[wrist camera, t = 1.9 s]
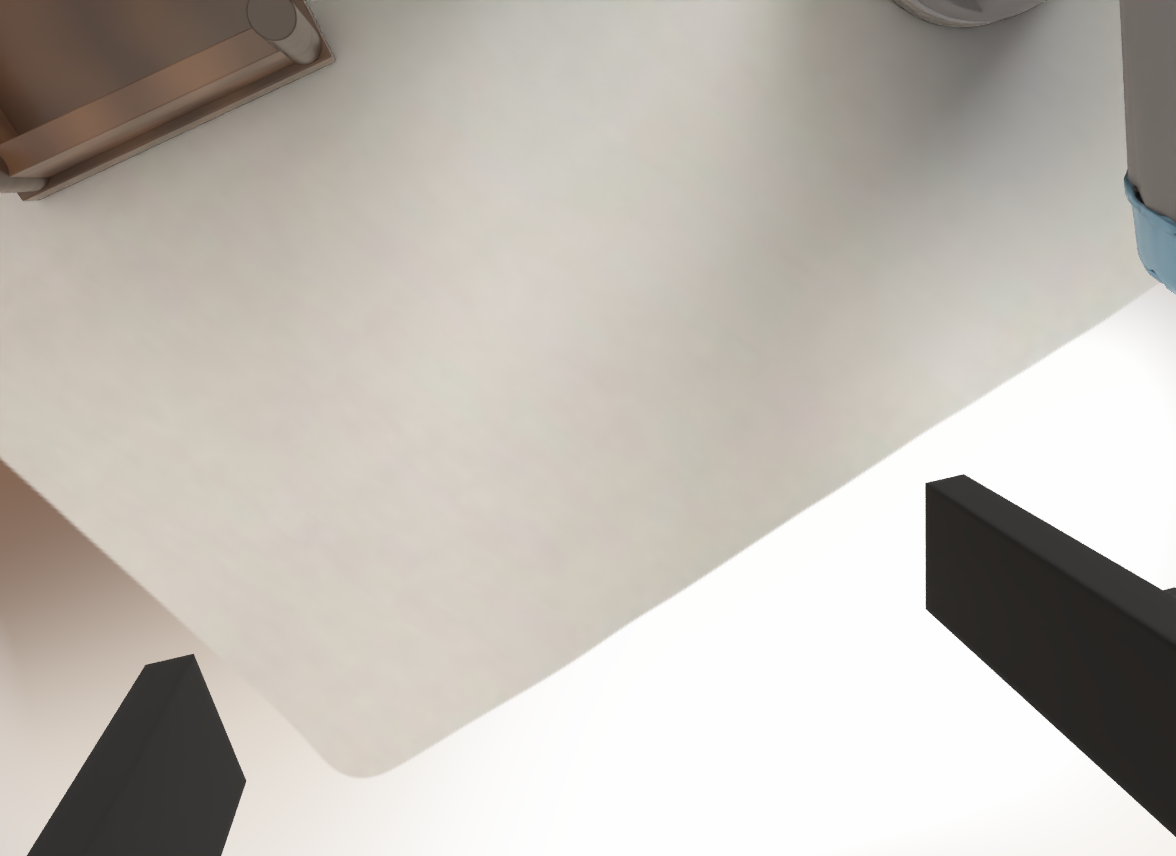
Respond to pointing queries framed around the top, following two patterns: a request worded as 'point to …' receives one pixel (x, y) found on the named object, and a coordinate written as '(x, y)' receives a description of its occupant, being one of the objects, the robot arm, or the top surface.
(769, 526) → the top surface
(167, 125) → the wooden tray
